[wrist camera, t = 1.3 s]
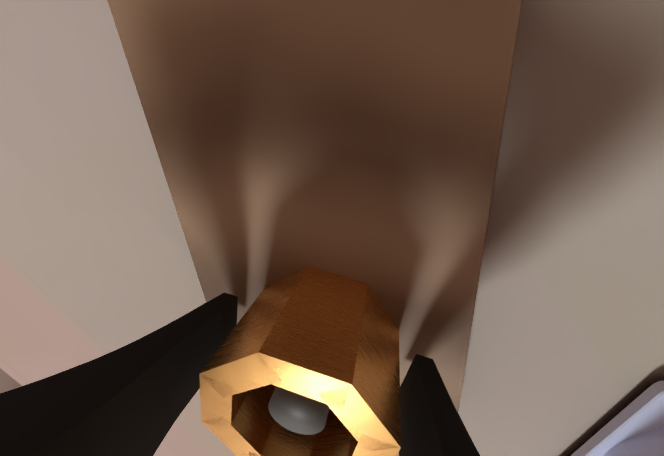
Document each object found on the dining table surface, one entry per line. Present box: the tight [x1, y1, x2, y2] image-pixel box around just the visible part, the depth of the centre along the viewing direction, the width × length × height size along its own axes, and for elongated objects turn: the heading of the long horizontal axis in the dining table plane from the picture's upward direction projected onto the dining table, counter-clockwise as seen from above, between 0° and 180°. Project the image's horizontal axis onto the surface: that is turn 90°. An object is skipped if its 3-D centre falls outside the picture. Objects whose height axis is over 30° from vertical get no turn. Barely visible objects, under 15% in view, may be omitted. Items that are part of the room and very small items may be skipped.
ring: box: [199, 266, 401, 456], centre depth 9 cm, size 6×6×4 cm
